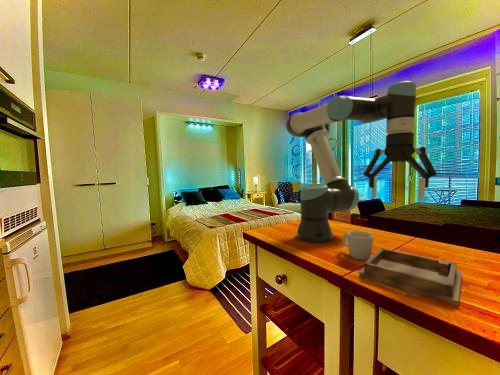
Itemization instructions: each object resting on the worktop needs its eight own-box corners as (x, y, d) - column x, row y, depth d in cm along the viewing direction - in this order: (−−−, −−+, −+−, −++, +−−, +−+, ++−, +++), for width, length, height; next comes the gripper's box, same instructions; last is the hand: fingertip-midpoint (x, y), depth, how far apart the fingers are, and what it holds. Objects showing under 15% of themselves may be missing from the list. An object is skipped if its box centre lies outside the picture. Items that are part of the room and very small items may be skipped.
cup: (335, 252, 78) (335, 230, 77) (351, 248, 81) (351, 227, 80) (361, 263, 68) (361, 239, 67) (378, 259, 71) (378, 235, 71)
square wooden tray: (359, 276, 60) (359, 263, 60) (378, 257, 73) (378, 246, 72) (458, 306, 46) (458, 290, 46) (461, 276, 58) (462, 263, 58)
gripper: (359, 134, 70) (358, 198, 72) (453, 128, 63) (449, 200, 65) (355, 136, 77) (354, 195, 79) (439, 132, 70) (435, 196, 72)
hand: (396, 197), depth 72 cm, fingers open, 13 cm apart
